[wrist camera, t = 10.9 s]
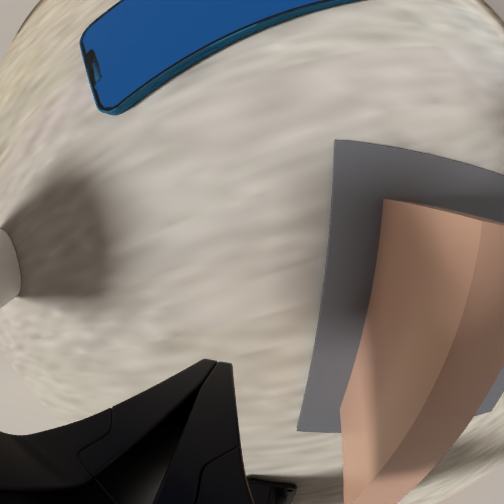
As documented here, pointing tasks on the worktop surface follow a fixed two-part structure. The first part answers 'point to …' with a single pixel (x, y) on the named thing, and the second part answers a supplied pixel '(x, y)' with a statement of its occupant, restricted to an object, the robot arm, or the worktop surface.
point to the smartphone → (169, 40)
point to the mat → (366, 249)
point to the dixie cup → (8, 270)
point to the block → (422, 347)
